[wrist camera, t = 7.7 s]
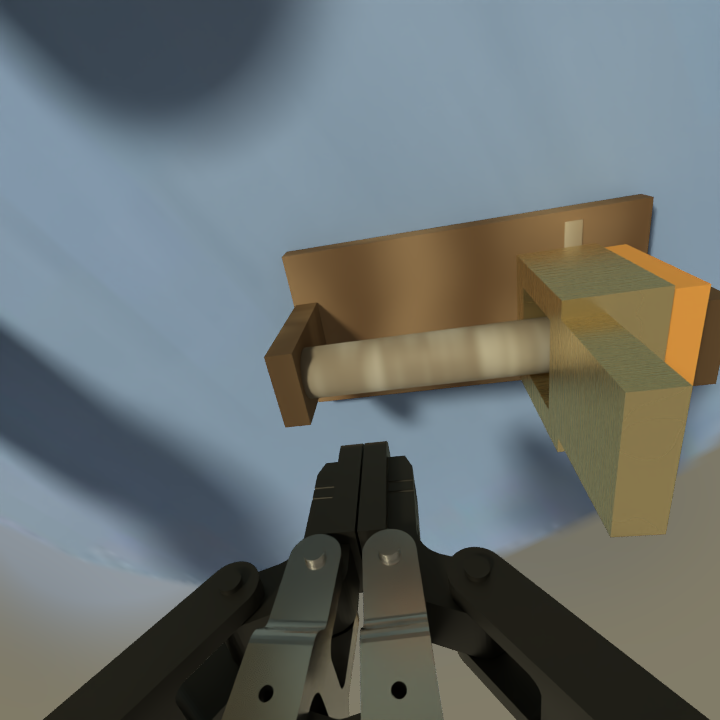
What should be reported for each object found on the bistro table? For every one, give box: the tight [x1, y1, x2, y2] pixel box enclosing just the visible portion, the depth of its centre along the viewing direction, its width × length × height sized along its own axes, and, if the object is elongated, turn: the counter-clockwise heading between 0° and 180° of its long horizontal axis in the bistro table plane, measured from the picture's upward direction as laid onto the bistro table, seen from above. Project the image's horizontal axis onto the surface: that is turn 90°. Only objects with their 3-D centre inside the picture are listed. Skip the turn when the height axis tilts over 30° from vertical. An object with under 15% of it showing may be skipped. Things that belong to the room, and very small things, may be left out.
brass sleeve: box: [516, 243, 693, 537], centre depth 17 cm, size 4×6×11 cm, turn 10°
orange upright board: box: [605, 244, 711, 386], centre depth 18 cm, size 1×6×6 cm, turn 11°
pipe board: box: [264, 194, 720, 427], centre depth 21 cm, size 18×9×8 cm, turn 100°
